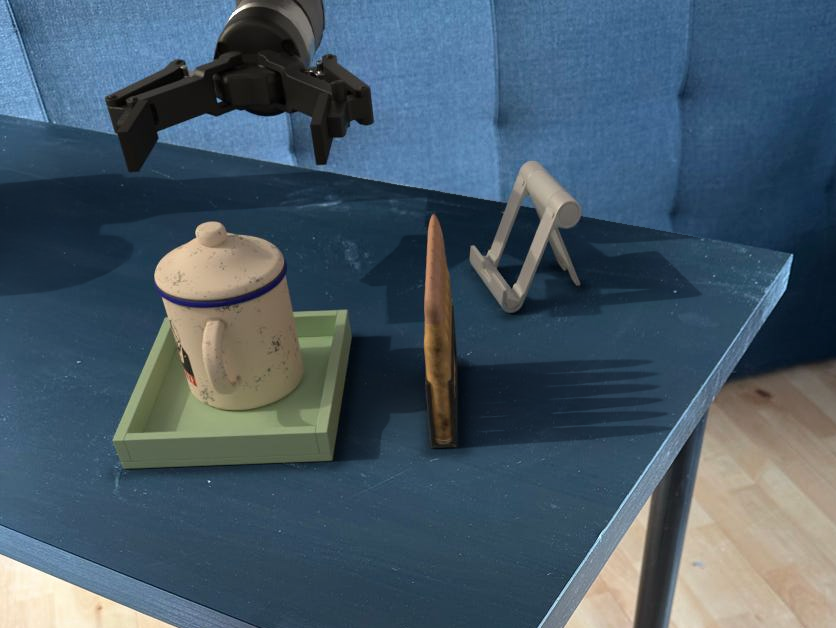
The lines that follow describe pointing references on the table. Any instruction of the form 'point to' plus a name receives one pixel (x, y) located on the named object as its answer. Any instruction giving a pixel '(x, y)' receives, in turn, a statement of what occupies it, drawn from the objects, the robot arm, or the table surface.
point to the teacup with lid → (231, 318)
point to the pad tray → (238, 429)
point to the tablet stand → (553, 213)
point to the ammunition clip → (440, 345)
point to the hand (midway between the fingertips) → (222, 148)
